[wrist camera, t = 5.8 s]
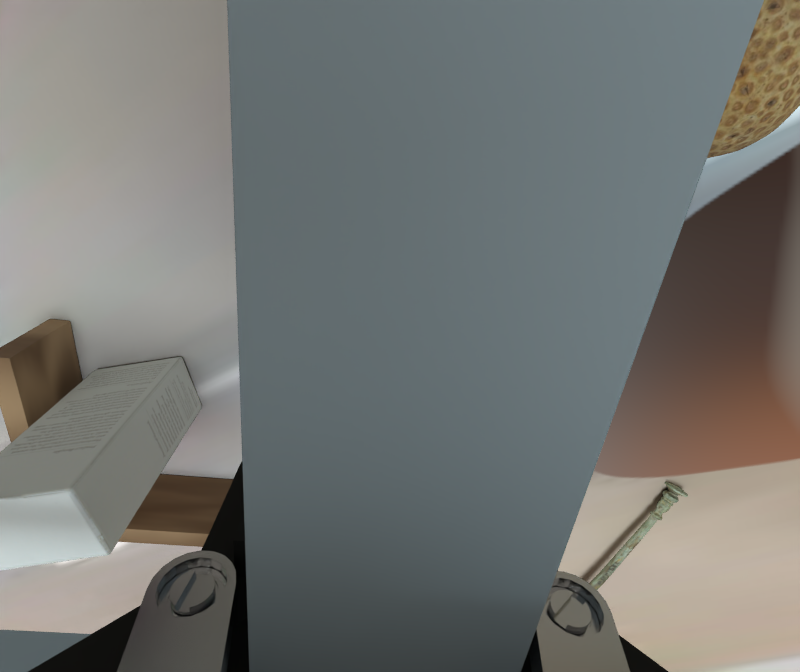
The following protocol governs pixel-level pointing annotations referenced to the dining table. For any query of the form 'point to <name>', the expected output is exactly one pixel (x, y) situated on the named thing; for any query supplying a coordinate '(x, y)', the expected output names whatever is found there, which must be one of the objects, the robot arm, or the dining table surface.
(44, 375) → the wooden u-shaped tray
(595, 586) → the soupspoon
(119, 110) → the dining table surface
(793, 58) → the natural sponge
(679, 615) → the dining table surface
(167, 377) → the skincare box
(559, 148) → the crook
